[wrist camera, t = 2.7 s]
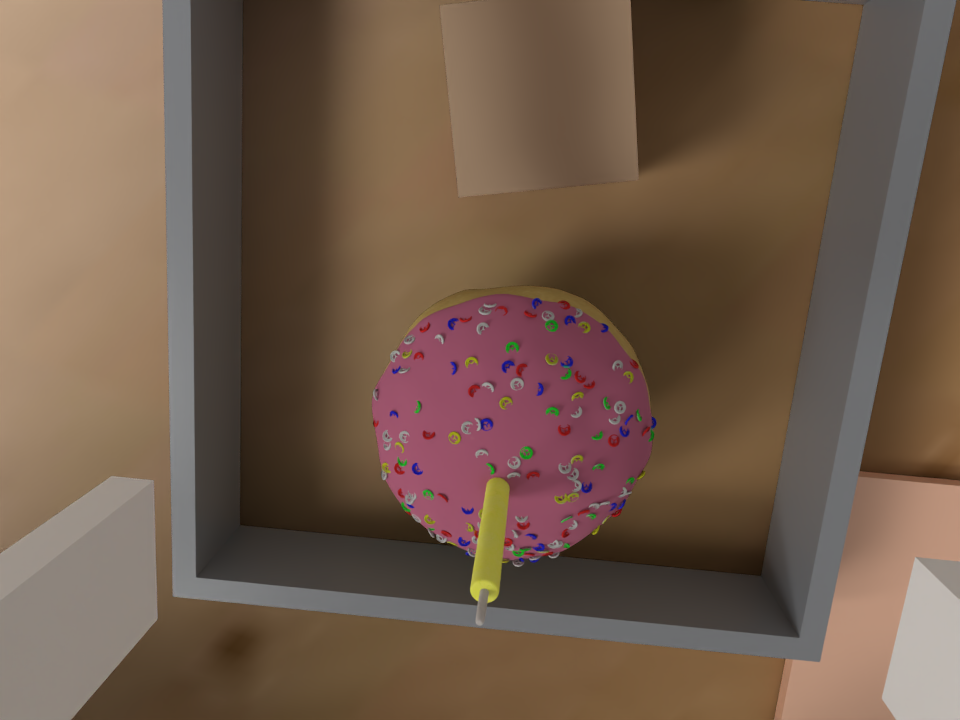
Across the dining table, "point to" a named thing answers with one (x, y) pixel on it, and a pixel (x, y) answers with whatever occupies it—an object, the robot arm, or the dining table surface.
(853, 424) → the corral
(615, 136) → the tan cube
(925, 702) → the robot arm
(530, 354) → the cupcake
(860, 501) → the plate
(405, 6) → the dining table surface
